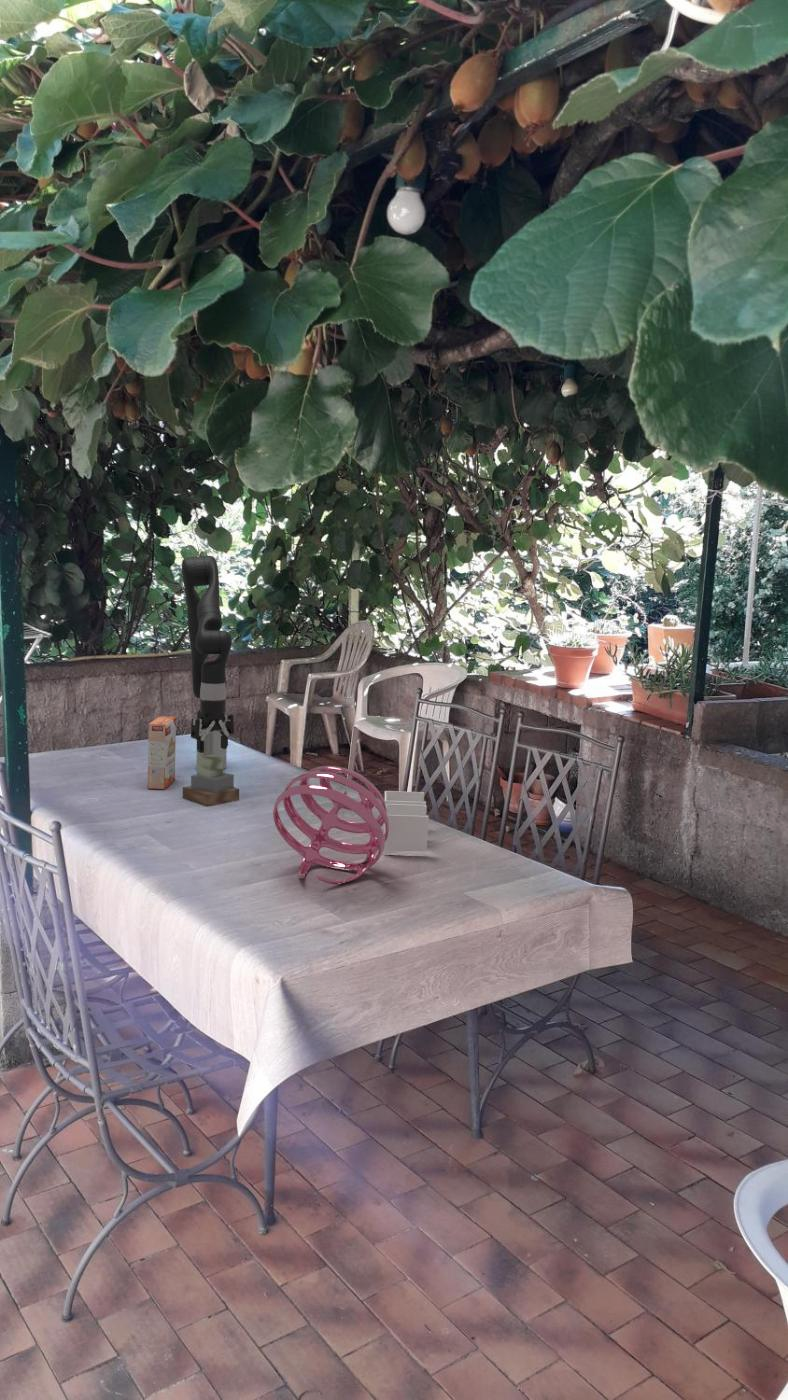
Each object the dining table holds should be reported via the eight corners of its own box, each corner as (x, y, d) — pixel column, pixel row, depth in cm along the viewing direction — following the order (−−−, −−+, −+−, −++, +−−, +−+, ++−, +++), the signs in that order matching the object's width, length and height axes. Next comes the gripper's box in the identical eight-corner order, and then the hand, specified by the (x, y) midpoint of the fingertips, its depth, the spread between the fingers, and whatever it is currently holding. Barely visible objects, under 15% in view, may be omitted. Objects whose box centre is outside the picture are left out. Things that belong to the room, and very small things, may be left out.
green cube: (211, 772, 317) (211, 754, 316) (223, 775, 313) (223, 757, 312) (197, 775, 312) (197, 757, 311) (209, 778, 309) (209, 760, 308)
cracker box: (166, 790, 322) (166, 724, 319) (146, 789, 323) (147, 723, 319) (176, 779, 336) (177, 716, 333) (157, 779, 336) (158, 715, 333)
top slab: (209, 783, 320) (209, 770, 319) (233, 787, 316) (233, 774, 315) (191, 788, 312) (191, 775, 311) (215, 793, 308) (215, 780, 307)
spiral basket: (327, 824, 223) (372, 737, 241) (230, 831, 238) (279, 748, 256) (385, 907, 237) (423, 819, 255) (290, 909, 252) (332, 826, 270)
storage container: (383, 828, 291) (384, 790, 290) (422, 830, 292) (424, 792, 290) (383, 856, 267) (385, 815, 265) (426, 858, 267) (428, 816, 265)
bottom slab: (214, 794, 323) (214, 781, 322) (238, 801, 315) (239, 789, 314) (182, 800, 314) (182, 787, 313) (206, 808, 306) (206, 795, 305)
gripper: (224, 693, 317) (223, 745, 320) (185, 697, 306) (185, 751, 309) (239, 696, 312) (239, 749, 315) (201, 701, 301) (200, 756, 304)
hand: (212, 750), depth 312 cm, fingers open, 8 cm apart
